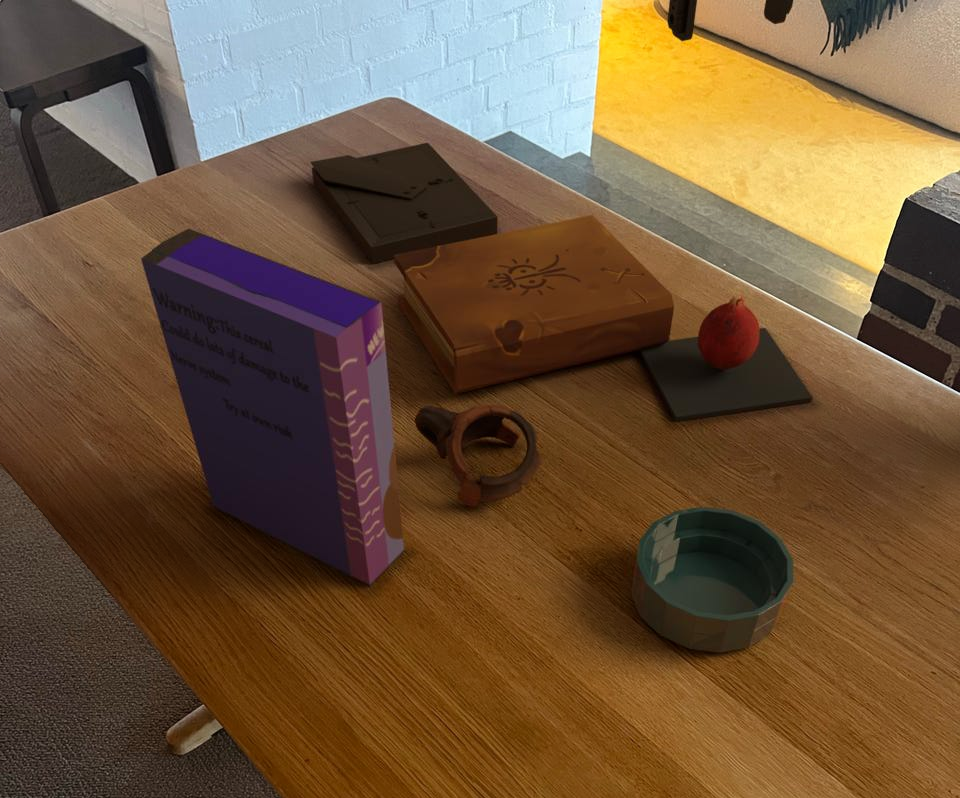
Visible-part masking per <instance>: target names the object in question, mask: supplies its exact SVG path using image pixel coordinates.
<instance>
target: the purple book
mask: <svg viewBox="0 0 960 798" xmlns="http://www.w3.org/2000/svg"><path fill="white" fill-rule="evenodd" d="M140 260H141V264H142V268H143V271H144V274H145V277H146V280H147V284H148V288H149V291H150V295H151V298H152V301H153V305H154V309H155V311H156V315H157V318H158V322H159V325H160V328H161V333H162V336H163V338H164V342H165V346H166V348H167V352H168V353H167V354H168V356H169V360H170V363H171V367H172V370H173V373H174V376H175V380H176V383H177V387H178V390H179V391H178V392H179V393H180V397H181V400H182V401H181V402H182V403H183V407H184V411H185V414H186V418H187V421H188V424H189V429H190V432H191V435H192V438H193V441H194V445H195V449H196V452H197V455H198V459H199V462H200V465H201V466H200V467H201V469H202V473H203V476H204V479H205V483H206V486H207V490H208V493H209V496H210V500H211V503H212V506H213V508H214V509H217V510H218V511H221V512H222V513H224V514H226V515H227V516H230V517H232V518H234V519H236V520H238V521H240V522H242V523H244V524H245V525H248V526H250V527H252V528H254V529H256V530H258V531H260V532H261V533H264V534H265V535H268V536H270V537H272V538H273V539H276V540H277V541H279V542H281V543H283V544H285V545H287V546H289V547H291V548H293V549H295V550H297V551H299V552H301V553H303V554H305V555H307V556H309V557H311V558H313V559H314V560H317V561H318V562H320V563H322V564H325V565H327V566H329V567H330V568H331V569H332V568H333V570H334V569H335V570H336V571H338V572H341V573H342V574H344V575H346V576H348V577H350V578H351V579H354V580H356V581H358V582H360V583H362V584H363V585H365V586H367V587H372V586H373V584H374V583H375V582H376V581H377V580H378V579H380V577H381V576H382V575H383V574H385V572H386V571H388V569H389V568H390V567H391V566H392V565H393V564H394V563H395V562H396V561H397V560H398V558H399V557H401V556H402V555H403V554H404V552H405V546H404V536H403V535H404V534H403V524H402V515H401V514H402V513H401V512H402V511H401V504H400V503H401V502H400V491H399V482H398V471H397V460H396V459H397V458H396V448H395V437H394V427H393V419H392V418H393V415H392V405H391V394H390V384H389V371H388V362H387V352H386V349H387V348H386V340H385V339H386V338H385V329H384V319H383V308H382V307H383V306H382V301H380V300H377V299H375V298H372V297H369V296H367V295H365V294H362V293H359V292H356V291H354V290H351V289H349V288H346V287H343V286H341V285H338V284H336V283H333V282H330V281H328V280H325V279H322V278H320V277H318V276H315V275H312V274H309V273H307V272H304V271H302V270H299V269H297V268H293V267H290V266H289V265H285V264H283V263H280V262H278V261H275V260H272V259H270V258H267V257H265V256H262V255H260V254H258V253H255V252H251V251H249V250H246V249H244V248H241V247H238V246H236V245H233V244H231V243H228V242H225V241H223V240H220V239H217V238H215V237H212V236H210V235H208V234H205V233H202V232H199V231H197V230H193V229H191V228H187V229H184V230H183V231H180V232H179V233H177V234H175V235H173V236H170V237H169V238H167V239H165V240H164V241H162V242H160V243H159V244H158V245H156V246H155V247H153V248H152V249H151V250H150V251H149V252H148V253H146V254H145V255H143V256H142V257H141V258H140Z"/></svg>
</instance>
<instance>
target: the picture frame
mask: <svg viewBox="0 0 960 798" xmlns="http://www.w3.org/2000/svg"><path fill="white" fill-rule="evenodd" d="M310 164H311V166H312V167H311V174H312V175H311V176H312V180H313V185H314V187H315V188H316V189H317V190H318V192H319V194H321V196H322V198H323V199H324V200H325V201H326V203H327V204H328V205H329V207H330V208H331V210H332V211H333V212H334V213H335V215H336V216H337V218H338V219H339V221H340V222H341V224H342V225H343V226H344V227H345V228H346V230H347V231H348V233H349V234H350V235H351V237H352V238H353V239H354V240H355V242H356V244H357V245H358V247H360V249H361V250H362V251H363V253H364V254H365V255H366V257H367V258H368V260H369V261H370V263H371V264H372V265H374V264H379V263H384V262H387V261H391V260H394V255H396V254H401V253H406V252H411V251H416V250H421V249H426V248H431V247H436V246H441V245H446V244H451V243H456V242H461V241H466V240H471V239H476V238H481V237H485V236H490V235H495V234H498V215H497V214H496V213H495V212H494V211H493V210H492V209H491V208H490V207H489V206H488V205H487V203H485V201H484V200H482V198H481V197H480V196H479V195H478V194H477V193H476V192H475V191H474V190H473V189H472V188H471V186H469V185H468V184H467V182H466V181H465V180H464V179H463V178H462V177H461V176H460V175H459V173H458V172H456V170H455V169H453V167H452V166H450V164H449V163H448V162H447V161H446V160H445V159H444V158H443V157H442V156H441V155H440V153H439V152H438V151H437V150H436V149H434V147H433V146H432V145H431V144H430V143H429V142H423V143H419V144H415V145H410V146H406V147H405V146H404V147H400V148H397V149H396V148H395V149H391V150H387V151H383V152H378V153H374V154H373V153H372V154H368V155H364V156H359V157H354V156H353V155H350V154H346V155H340V156H335V157H329V158H324V159H318V160H314V161H313V160H312V161H310Z"/></svg>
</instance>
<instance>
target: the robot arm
mask: <svg viewBox="0 0 960 798" xmlns="http://www.w3.org/2000/svg"><path fill="white" fill-rule="evenodd" d="M668 2H669V3H668V12H667V21H666V22H667V26H668V29H669V30H671V33H672V36H673V37H675V38H677V39H678V40H679V41H681V42H686V41H691V40H692V39H693V37H694V28H695V21H696V13H697V12H696V11H697V7H698V6H697V4H698V0H669V1H668ZM793 5H794V0H765V3H764V9H763V16H764V18H765V20H767V21H768V22H770V23H771V24H773V25H779V24H784V23H785V21H786V19H787V15H789V14H790V12H791V10H792V8H793Z"/></svg>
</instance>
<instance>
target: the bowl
mask: <svg viewBox="0 0 960 798" xmlns="http://www.w3.org/2000/svg"><path fill="white" fill-rule="evenodd" d="M632 576H633V578H632V585H631V592H630V593H631V597H632V599H633V602H634V604H635V607H636V609H637V612H638V614H639V616H640V618H641V619H642V620H643V621H644V622H645V623H647V625H649V627H650V628H652V629H653V630H654V631H655V633H657V635H659V636H661V637H663V638H664V639H667V640H669V641H671V642H674V643H676V644H678V645H680V646H683V647H685V648H686V649H690V650H697V651H705V652H712V653H724V652H730V651H736V650H741V649H747V648H750V647H751V646H753V645H755V644H756V643H758V642H760V641H761V640H763V639H765V638H766V637H768V636H770V635H771V634H772V632H773V631H774V630H775V629H774V628H775V627H776V625H777V623H778V622H779V621H780V619H781V618H782V616H783V613H784V610H785V608H786V604H787V601H788V599H789V596H790V593H791V590H792V588H793V585H794V580H795V577H794V559H793V557H792V555H791V553H790V551H789V550H788V548H787V546H786V545H785V542H784V541H783V539H782V538H781V537H780V536H779V535H778V534H777V533H775V532H774V531H773V530H771V528H769V527H768V526H767V525H765V524H764V523H763V522H762V521H760V520H759V519H757V518H756V519H755V518H753V517H751V516H748V515H745V514H743V513H740V512H738V511H737V510H734V509H729V508H728V509H727V508H718V507H710V506H697V507H691V508H685V509H684V508H683V509H679V510H674V511H672V512H670V513H668V514H666V515H664V516H663V517H661V518H659V519H657V520H655V521H654V522H652V523H651V525H650V526H649V527H648V528H647V530H646V531H645V532H644V533H643V535H642V537H641V538H640V539H639V541H638V545H637V552H636V558H635V563H634V570H633V575H632Z"/></svg>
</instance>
